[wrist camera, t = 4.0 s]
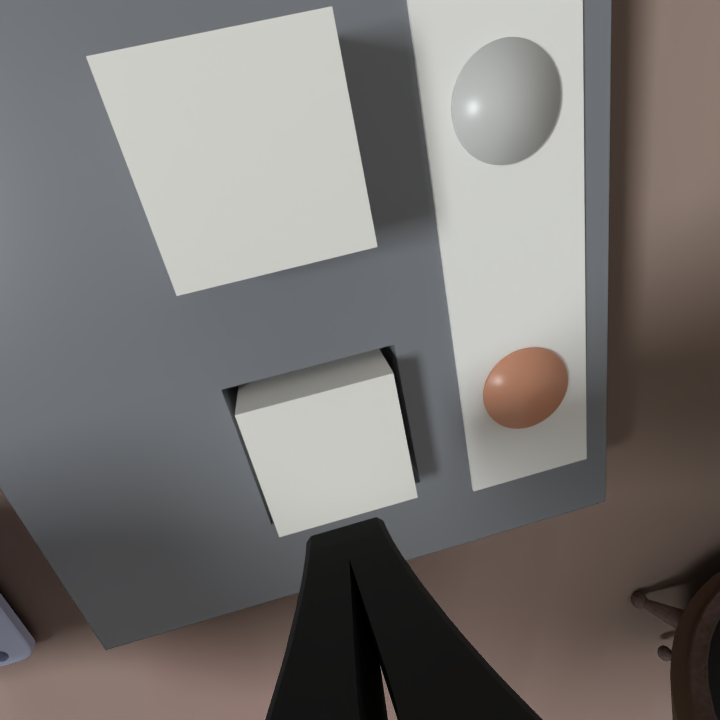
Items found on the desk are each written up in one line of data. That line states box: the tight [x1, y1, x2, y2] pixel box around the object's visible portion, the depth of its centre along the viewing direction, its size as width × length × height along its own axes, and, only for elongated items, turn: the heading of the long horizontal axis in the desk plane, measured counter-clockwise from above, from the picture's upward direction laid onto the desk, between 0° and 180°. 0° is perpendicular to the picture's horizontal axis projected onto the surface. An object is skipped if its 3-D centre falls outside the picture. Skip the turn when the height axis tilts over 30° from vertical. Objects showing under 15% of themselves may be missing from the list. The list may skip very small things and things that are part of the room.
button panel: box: [0, 0, 611, 650], centre depth 11 cm, size 16×24×3 cm, turn 12°
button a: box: [235, 349, 418, 537], centre depth 13 cm, size 4×4×3 cm
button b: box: [86, 6, 377, 296], centre depth 10 cm, size 4×4×3 cm
